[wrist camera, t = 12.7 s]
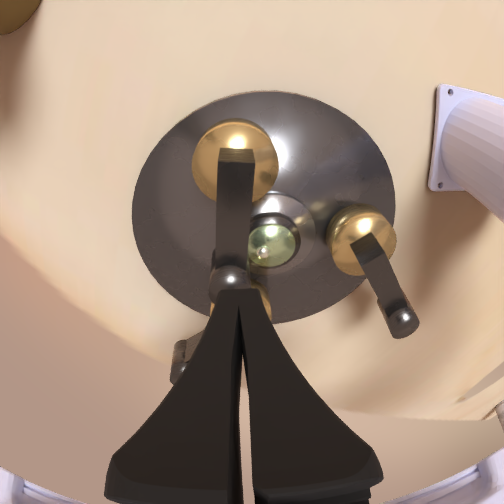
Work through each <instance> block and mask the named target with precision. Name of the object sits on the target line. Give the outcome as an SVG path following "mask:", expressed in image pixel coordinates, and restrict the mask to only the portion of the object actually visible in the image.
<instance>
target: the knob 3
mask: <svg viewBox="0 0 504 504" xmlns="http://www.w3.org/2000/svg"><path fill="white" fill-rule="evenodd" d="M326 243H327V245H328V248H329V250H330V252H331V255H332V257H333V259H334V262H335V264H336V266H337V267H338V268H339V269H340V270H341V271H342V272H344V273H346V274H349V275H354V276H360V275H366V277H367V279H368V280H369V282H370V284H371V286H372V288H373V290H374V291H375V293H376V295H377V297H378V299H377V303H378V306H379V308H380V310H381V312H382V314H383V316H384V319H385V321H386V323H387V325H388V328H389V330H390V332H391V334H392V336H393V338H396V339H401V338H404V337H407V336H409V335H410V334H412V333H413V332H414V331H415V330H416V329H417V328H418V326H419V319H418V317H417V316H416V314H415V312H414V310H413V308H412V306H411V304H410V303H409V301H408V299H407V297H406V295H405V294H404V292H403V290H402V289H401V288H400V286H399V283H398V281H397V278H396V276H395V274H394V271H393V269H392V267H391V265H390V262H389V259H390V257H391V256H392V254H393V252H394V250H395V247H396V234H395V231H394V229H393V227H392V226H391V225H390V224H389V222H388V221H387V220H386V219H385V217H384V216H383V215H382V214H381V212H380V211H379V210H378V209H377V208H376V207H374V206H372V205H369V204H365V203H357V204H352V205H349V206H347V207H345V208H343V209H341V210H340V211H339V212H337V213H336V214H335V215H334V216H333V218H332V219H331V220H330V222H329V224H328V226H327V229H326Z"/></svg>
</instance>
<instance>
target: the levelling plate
mask: <svg viewBox="0 0 504 504" xmlns="http://www.w3.org/2000/svg"><path fill="white" fill-rule="evenodd" d="M229 118H243V119H247V120H250V121H253V122H255V123H256V124H258V125H259V126H261V127H262V128H263V129H264V130H265V131H266V132H267V134H268V135H269V137H270V138H271V140H272V142H273V145H274V147H275V149H276V152H277V155H278V159H279V171H278V175H277V178H276V181H275V183H274V185H273V186H272V188H271V189H270V190H269V191H268V192H267V193H266V194H265V195H264V196H263V197H261V198H260V199H258V200H256V201H254V202H252V208H251V219H250V231H249V242H248V253H249V264H250V278H251V279H254V280H257V281H259V282H260V283H262V284H263V285H264V286H265V287H266V289H267V290H268V293H269V298H270V306H271V313H272V319H271V323H272V324H278V323H284V322H290V321H294V320H297V319H301V318H304V317H307V316H310V315H313V314H316V313H318V312H320V311H322V310H324V309H326V308H328V307H330V306H332V305H333V304H335V303H337V302H339V301H340V300H342V299H343V298H344V297H346V296H347V295H348V294H350V293H351V292H352V291H353V290H354V289H356V288H357V287H358V286H359V285H360V284H361V283H362V282H363V281H364V280H365V279H366V275H360V276H354V275H349V274H346V273H344V272H342V271H341V270H340V269H339V268H338V267H337V266H336V264H335V262H334V259H333V257H332V255H331V252H330V250H329V248H328V245H327V243H326V229H327V226H328V224H329V222H330V220H331V219H332V218H333V216H334V215H335V214H336V213H337V212H339V211H340V210H341V209H343V208H345V207H347V206H349V205H352V204H357V203H365V204H369V205H372V206H374V207H376V208H377V209H378V210H379V211H380V212H381V214H382V215H383V216H384V217H385V219H386V220H387V221H388V222H389V224H390V225H391V226H392V227H393V224H394V217H395V191H394V185H393V181H392V176H391V173H390V170H389V168H388V165H387V162H386V160H385V158H384V157H383V155H382V153H381V151H380V149H379V148H378V146H377V145H376V143H375V142H374V141H373V140H372V138H371V137H370V136H369V135H368V133H367V132H366V131H365V130H364V129H363V128H361V127H360V126H359V125H358V124H357V123H356V122H355V121H354V120H353V119H351V118H350V117H348V116H347V115H345V114H344V113H342V112H341V111H339V110H338V109H336V108H334V107H332V106H330V105H327V104H325V103H323V102H321V101H319V100H317V99H314V98H311V97H307V96H304V95H300V94H297V93H291V92H283V91H251V92H245V93H239V94H233V95H230V96H227V97H224V98H221V99H218V100H215V101H213V102H211V103H208V104H206V105H204V106H202V107H200V108H198V109H196V110H195V111H193V112H192V113H190V114H189V115H188V116H186V117H185V118H183V119H182V120H180V121H179V122H178V123H177V124H176V125H175V126H174V127H173V128H172V129H171V130H170V131H169V132H168V133H166V134H165V136H164V137H163V138H162V139H161V140H160V141H159V143H158V144H157V145H156V147H155V148H154V149H153V151H152V152H151V153H150V155H149V157H148V158H147V160H146V162H145V164H144V166H143V168H142V170H141V172H140V175H139V178H138V180H137V183H136V186H135V191H134V197H133V202H132V224H133V232H134V237H135V240H136V244H137V247H138V250H139V252H140V255H141V257H142V259H143V261H144V263H145V265H146V266H147V268H148V270H149V271H150V273H151V274H152V275H153V277H154V278H155V279H156V280H157V282H158V283H159V284H160V285H161V286H162V287H163V288H164V289H165V290H166V291H167V292H168V293H169V294H170V295H172V296H173V297H174V298H176V299H177V300H178V301H180V302H181V303H183V304H184V305H186V306H188V307H190V308H191V309H193V310H195V311H197V312H200V313H202V314H204V315H206V316H209V317H210V309H211V300H210V298H209V282H210V271H211V260H212V253H213V250H214V249H215V247H216V201H214V200H212V199H210V198H209V197H207V196H206V195H205V194H204V193H203V192H202V191H201V190H200V189H199V187H198V186H197V184H196V182H195V180H194V177H193V173H192V158H193V154H194V151H195V149H196V147H197V145H198V142H199V140H200V138H201V137H202V135H203V134H204V132H205V131H206V130H207V129H208V128H209V127H211V126H212V125H213V124H215V123H217V122H219V121H221V120H224V119H229Z"/></svg>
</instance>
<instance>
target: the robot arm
mask: <svg viewBox="0 0 504 504" xmlns="http://www.w3.org/2000/svg"><path fill="white" fill-rule="evenodd" d="M448 90H450V94H448ZM439 183H440V185H439V186H438V184H439ZM428 187H429V189H431V190H432V191H467V192H468V193H469V194H471V195H472V196H473V197H474V198H476V199H477V200H478V201H479V202H480V203H482V204H483V205H484V206H485V207H486V208H487V209H489V210H490V211H491V212H492V213H493V214H494V215H495V216H497V217H498V218H499V219H500V220H501V221H502V222H503V223H504V99H502V98H499V97H495V96H492V95H488V94H485V93H481V92H477V91H473V90H469V89H465V88H461V87H456V86H451V85H447V84H439V85H438V87H437V100H436V118H435V131H434V142H433V151H432V159H431V167H430V174H429V180H428ZM242 355H243V359H244V366H245V373H246V380H247V387H248V394H249V410H250V432H251V433H250V434H251V457H252V482H253V490H254V495H255V504H369V500H368V499H369V498H371V493H370V487H372V486H374V485H376V484H378V483H379V482H381V481H382V480H383V471H382V468H381V466H380V463H379V460H378V458H377V456H376V454H375V452H374V450H373V449H372V447H370V446H369V445H368V444H367V443H366V442H365V441H364V440H362V439H361V438H360V437H359V436H358V435H356V434H355V433H354V432H353V431H352V430H351V429H350V428H349V427H348V426H347V425H346V424H345V423H344V422H343V421H342V420H341V419H340V418H339V417H338V416H337V415H336V414H335V413H334V412H333V411H332V410H331V409H330V408H329V407H328V405H327V404H326V403H325V402H324V401H323V400H322V399H321V398H320V396H319V395H318V394H317V393H316V392H315V391H314V389H313V388H312V387H311V385H310V384H309V383H308V382H307V380H306V379H305V378H304V376H303V375H302V373H301V372H300V371H299V369H298V368H297V366H296V365H295V363H294V362H293V360H292V359H291V357H290V356H289V354H288V352H287V351H286V349H285V347H284V346H283V344H282V342H281V340H280V339H279V337H278V335H277V333H276V331H275V329H274V327H273V325H272V323H271V321H270V319H269V316H268V314H267V312H266V309H265V307H264V304H263V301H262V298H261V294H260V290H259V289H257V288H247V289H224V290H220V291H219V292H218V295H217V299H216V302H215V305H214V308H213V311H212V314H211V316H210V319H209V321H208V323H207V326H206V328H205V330H204V332H203V335H202V337H201V339H200V341H199V343H198V345H197V347H196V349H195V351H194V352H193V354H192V356H191V358H190V360H189V362H188V363H187V365H186V367H185V369H184V370H183V372H182V373H181V375H180V377H179V378H178V380H177V381H176V383H175V384H174V386H173V387H172V389H171V390H170V391H169V393H168V394H167V396H166V397H165V398H164V400H163V401H162V402H161V404H160V405H159V406H158V407H157V409H156V410H155V411H154V412H153V413H152V415H151V416H150V417H149V418H148V419H147V420H146V422H145V423H144V424H143V425H142V426H141V427H140V429H139V430H138V431H137V432H136V433H135V434H134V435H133V436H132V437H131V438H130V439H129V440H128V441H127V442H126V443H125V444H124V445H123V446H122V447H121V448H120V449H119V450H118V451H116V452H115V453H114V454H113V456H112V458H111V461H110V464H109V468H108V471H107V475H106V483H105V491H104V496H105V497H106V498H107V499H109V500H111V501H114V502H117V503H120V504H244V501H243V486H242V470H241V451H240V428H239V402H240V387H241V371H242ZM0 504H88V503H84V502H81V501H78V500H75V499H72V498H69V497H66V496H63V495H60V494H58V493H55V492H53V491H50V490H48V489H45V488H43V487H41V486H39V485H36V484H34V483H32V482H29V481H27V480H25V479H23V478H22V477H20V476H18V475H16V474H14V473H12V472H10V471H8V470H6V469H4V468H2V467H1V466H0ZM380 504H504V447H502V448H501V449H499V450H497V451H496V452H494V453H493V454H491V455H489V456H488V457H486V458H484V459H482V460H481V461H479V462H478V463H477V464H474V465H473V466H471V467H469V468H467V469H465V470H463V471H461V472H459V473H457V474H456V475H453V476H451V477H449V478H447V479H445V480H443V481H440V482H438V483H436V484H433V485H431V486H429V487H426V488H424V489H421V490H419V491H416V492H413V493H411V494H408V495H405V496H402V497H400V498H396V499H393V500H390V501H387V502H384V503H380Z"/></svg>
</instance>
